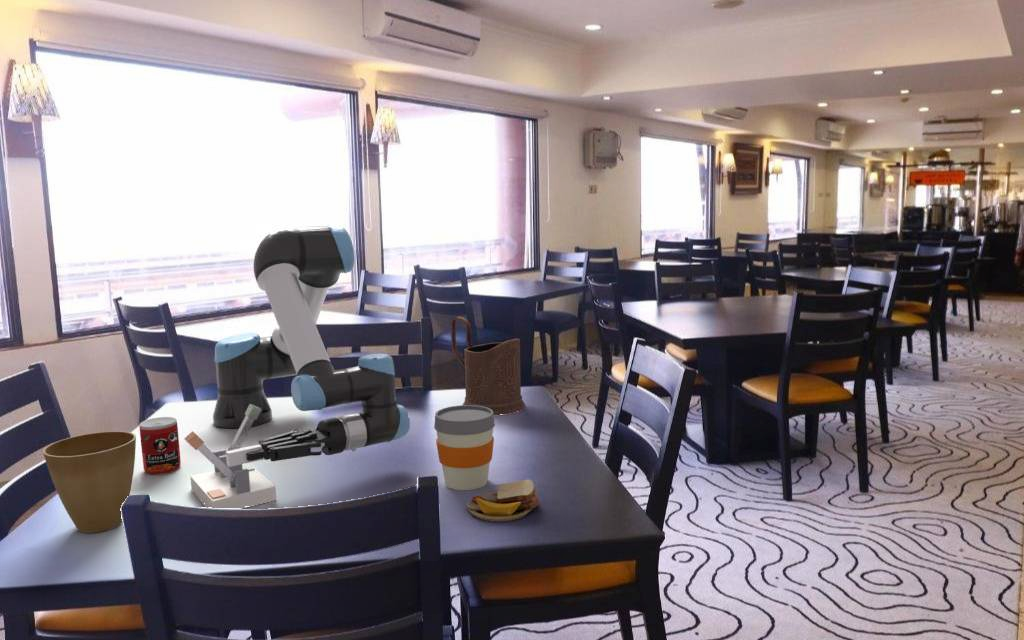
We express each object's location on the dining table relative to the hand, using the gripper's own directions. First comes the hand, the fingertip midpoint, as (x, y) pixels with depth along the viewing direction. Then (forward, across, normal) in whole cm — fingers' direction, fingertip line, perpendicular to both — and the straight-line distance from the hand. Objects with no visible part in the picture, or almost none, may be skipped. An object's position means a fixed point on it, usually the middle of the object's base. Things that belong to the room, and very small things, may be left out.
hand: (227, 459), depth 146 cm
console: (-2, +6, -10) cm, 12 cm away
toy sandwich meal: (-40, -35, -10) cm, 54 cm away
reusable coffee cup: (-42, -19, -10) cm, 48 cm away
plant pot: (+22, +8, -10) cm, 25 cm away
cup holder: (-81, +26, -10) cm, 86 cm away
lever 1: (-2, +1, -6) cm, 6 cm away
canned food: (+5, +33, -10) cm, 34 cm away
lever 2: (-2, +12, -6) cm, 13 cm away
